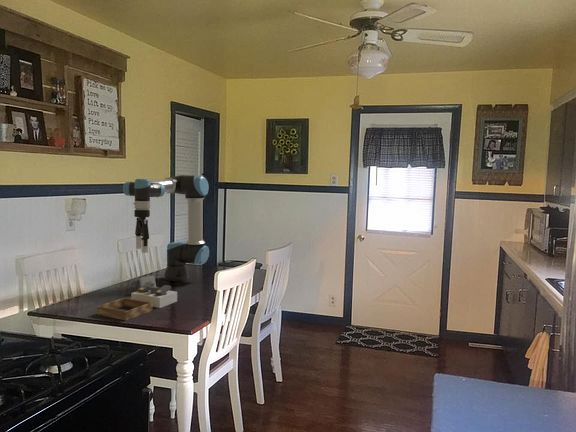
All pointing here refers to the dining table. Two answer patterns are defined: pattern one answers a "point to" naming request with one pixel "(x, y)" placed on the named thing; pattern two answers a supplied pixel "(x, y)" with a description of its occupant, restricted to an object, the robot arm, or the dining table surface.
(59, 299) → the dining table surface
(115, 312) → the tray
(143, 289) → the rocker
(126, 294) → the dining table surface
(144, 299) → the switch unit
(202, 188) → the robot arm
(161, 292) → the rocker
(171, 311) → the dining table surface
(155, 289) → the rocker
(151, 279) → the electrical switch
